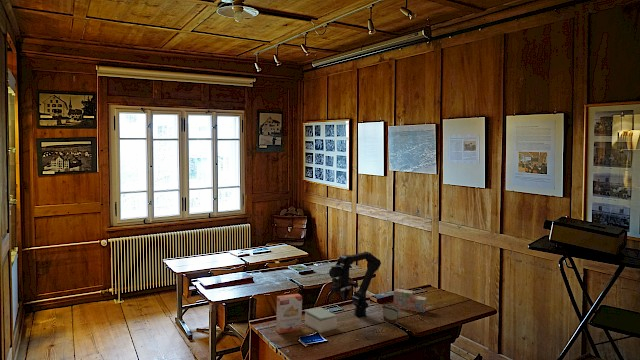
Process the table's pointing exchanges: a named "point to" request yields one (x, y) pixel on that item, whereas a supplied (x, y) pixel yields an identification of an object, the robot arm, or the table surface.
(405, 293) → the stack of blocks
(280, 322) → the cracker box
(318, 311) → the chest lid
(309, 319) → the chest
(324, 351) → the table surface
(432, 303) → the table surface
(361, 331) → the table surface
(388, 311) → the food container
